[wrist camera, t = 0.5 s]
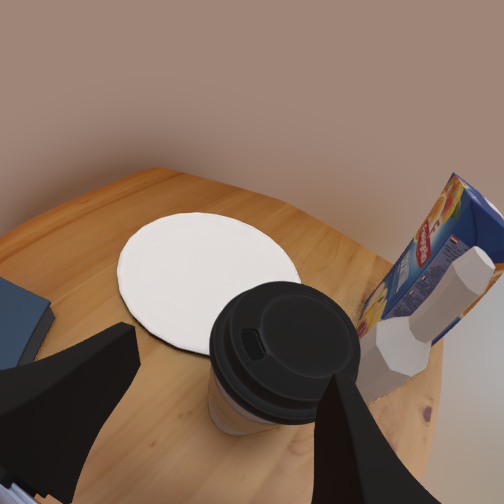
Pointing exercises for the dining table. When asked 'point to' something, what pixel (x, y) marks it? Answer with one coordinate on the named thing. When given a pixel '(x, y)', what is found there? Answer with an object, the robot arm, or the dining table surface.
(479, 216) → the juice carton
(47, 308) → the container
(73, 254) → the dining table surface
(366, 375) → the low poly bottle
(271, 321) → the coffee cup
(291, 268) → the plate
